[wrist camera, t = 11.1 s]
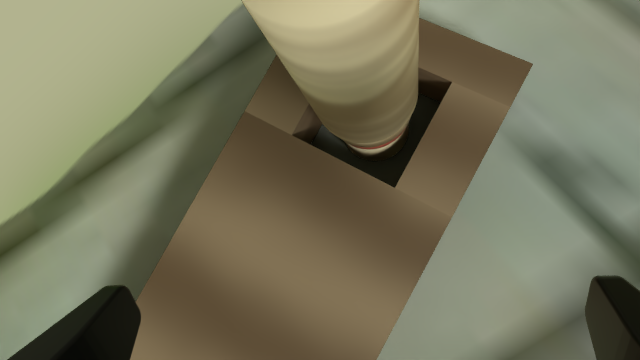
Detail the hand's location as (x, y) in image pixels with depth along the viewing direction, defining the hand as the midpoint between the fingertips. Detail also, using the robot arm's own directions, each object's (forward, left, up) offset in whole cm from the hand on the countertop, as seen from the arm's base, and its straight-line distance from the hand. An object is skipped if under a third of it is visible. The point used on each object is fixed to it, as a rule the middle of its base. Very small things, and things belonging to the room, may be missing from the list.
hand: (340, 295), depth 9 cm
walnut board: (-1, +4, -13) cm, 13 cm away
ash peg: (+6, +4, -13) cm, 15 cm away
